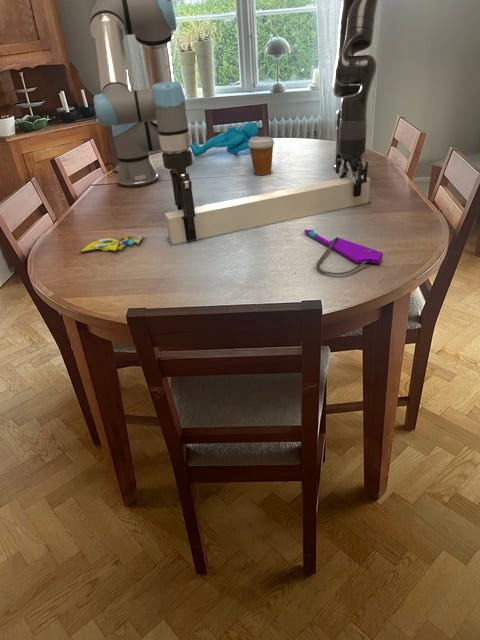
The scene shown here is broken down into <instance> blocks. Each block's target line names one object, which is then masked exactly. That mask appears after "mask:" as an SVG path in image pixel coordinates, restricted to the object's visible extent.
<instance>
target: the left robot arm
mask: <svg viewBox="0 0 480 640" xmlns="http://www.w3.org/2000/svg"><path fill="white" fill-rule="evenodd" d="M89 30H90V35H91V37H92V39H93V40H94V42H95V50H96V59H97V66H98V76H99V83H100V91H101V92H100V93H99V94H95V95H94V96H93V107H94V111H95V116H96V119H97V122H98V124H99V125H100V126H102V127H104V126H105V127H106V126H109V127H111V131H112V138H113V141H114V146H115V151H116V155H117V160H118V164H116V163H114V162H112V161H111V162H109V161H108V162H106V163H105V164H104V167H107V166H108V165H111V166H114V167H113V168H112V169H111V170H112V172H113V173H115V174H117V183H118V186H120V187H123V188H124V187H125V188H136V187H137V188H138V187H145V186H147V185H148V186H149V185H151V184H154V183H156V182H157V181H158V180H159V176H158V172H157V169H156V168H155V166H154V163H153V161H152V159H151V156H150V152H155V151H156V152H157V151H162V153H161V157H162V161H163V162H162V163H163V167H164V168H165V169H167V170H169V174H170V178H171V179H170V180H171V185H172V191H173V197H174V205H175V206H176V209H177V211H178V210H183V214H184V217H181V218H182V219H183V220H184V227H185V234H186V240H187V241H188V242H191V241H190V240H192V241H196V240H195V239H197V238H196V231H195V224H194V217H195V209H194V207H195V201H194V195H193V188H192V187H193V186H192V185H193V184H192V183H193V182H192V180H191V179H190V174H189V173H188V172H187V168H189V167H191V166H192V165H193V164H194V159H193V153H192V150H191V146H190V145H191V140H190V139H191V138H192V134H191V133H190V132H189V125H188V115H187V106H186V95H185V91H184V85H183V84H182V83H181V81H174V75H173V66H172V56H171V48H170V46H171V45H170V42H171V41H172V40H173V39H174V32H176V31H177V30H178V24H177V19H176V14H175V10H174V6H173V1H172V0H96V2H95V3H94V5H93V8H92V10H91V12H90V16H89ZM131 35H133V36H134V38H135V41H136V42H137V43H138V44H140V45H141V50H142V55H143V56H142V57H143V61H144V68H145V74H146V81H147V87H148V88H145V89H137V90H131V84H130V77H129V71H128V64H127V57H126V51H125V44H124V39H125V36H131ZM117 169H118V170H117ZM197 240H198V239H197Z"/></svg>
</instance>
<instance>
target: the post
mask: <svg viewBox="0 0 480 640" xmlns="http://www.w3.org/2000/svg"><path fill="white" fill-rule="evenodd" d="M362 178H363V175H362ZM356 179H357V176H356ZM370 181H371V178H370V177H368V176H367V182H366V183H362V185H361V195H360V196H358V197H354V196H353V184H354V182H353V178H352V177H351V176H346V178H341V179H340V178H336V179H331V180H326V181H321V182H316V183H311V184H305V185H299V186H296V187H295V186H294V187H290V188H286V189H280V190H275V191H269V192H265V193H260V194H256V195H255V194H254V195H250V196H244V197H240V198H235V199H229V200H224V201H219V202H214V203H209V204H203V205H199V206H194V209H195V217H194V224H195V231H196V238H197V239H195V240H194V241H198V240H201V239H206V238H211V237H215V236H219V235H224V234H229V233H234V232H239V231H244V230H248V229H253V228H258V227H262V226H266V225H271V224H276V223H277V224H278V223H281V222H285V221H290V220H294V219H300V218H304V217H310V216H313V215H319V214H322V213H323V214H324V213H327V212H332V211H336V210H341V209H346V208H350V207H356V206H359V205H365V204H369V200H370V199H369V198H370V197H369V196H370V185H371V184H370V183H371V182H370ZM181 217H184V214H183V210H178V209H177V210H173V211H167V212H164V218H165V226H166V232H167V237H168V239H169V241H170V243H171V244H172V245H173V246H174V245H178V244H183V243H188V242H192V241H193V240H190V241H187V240H186V234H185V227H184V220H183V219H182V218H181Z"/></svg>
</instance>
